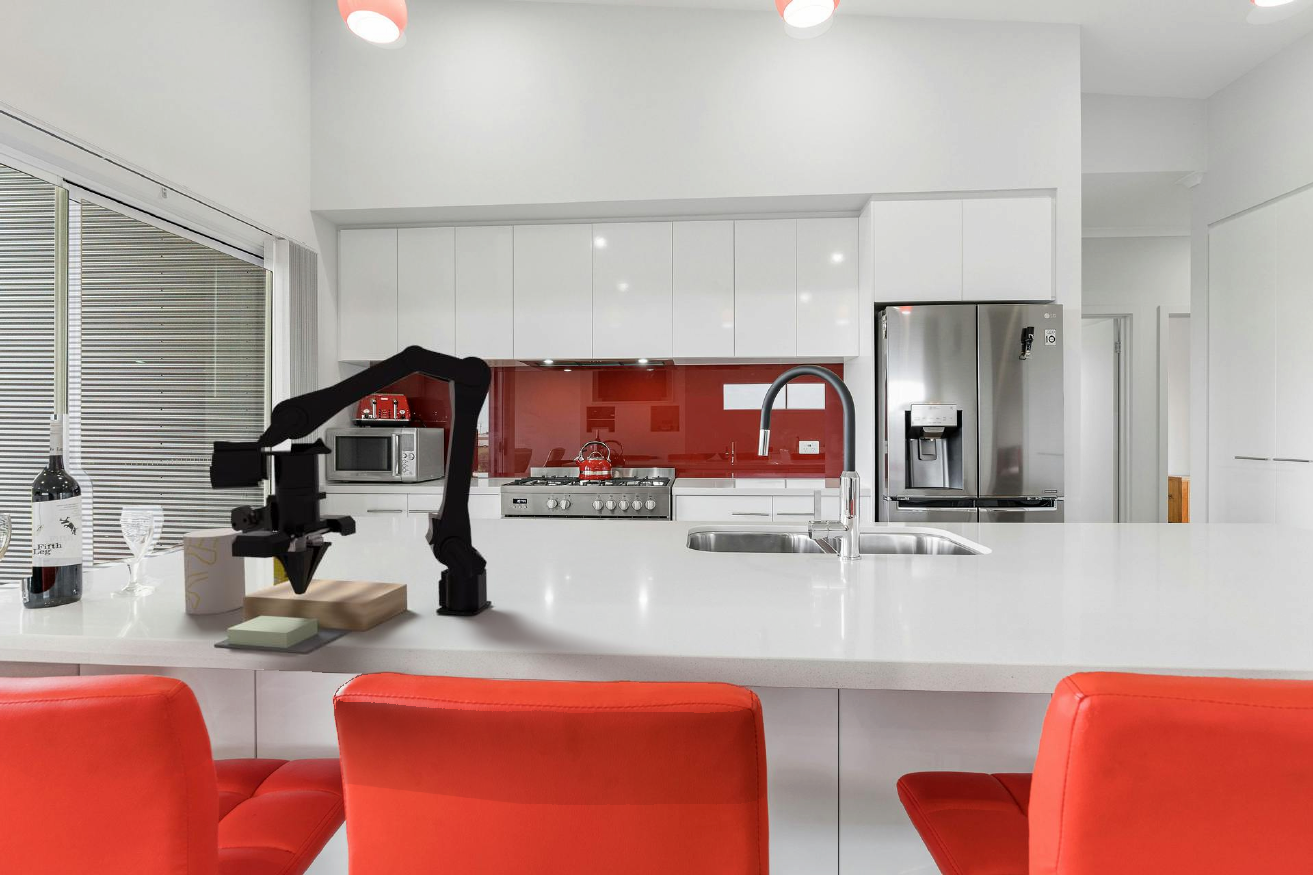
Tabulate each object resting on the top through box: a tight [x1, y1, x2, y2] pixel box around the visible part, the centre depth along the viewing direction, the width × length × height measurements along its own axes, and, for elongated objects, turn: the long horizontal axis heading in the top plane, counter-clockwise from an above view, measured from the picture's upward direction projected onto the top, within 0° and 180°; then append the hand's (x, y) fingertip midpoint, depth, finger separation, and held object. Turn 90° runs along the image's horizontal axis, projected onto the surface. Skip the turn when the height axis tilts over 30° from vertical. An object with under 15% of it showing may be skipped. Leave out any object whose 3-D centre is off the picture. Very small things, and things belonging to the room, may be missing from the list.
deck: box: [242, 578, 408, 632], centre depth 106 cm, size 20×11×4 cm, turn 79°
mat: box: [213, 627, 351, 654], centre depth 96 cm, size 14×9×1 cm, turn 79°
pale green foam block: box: [226, 616, 318, 648], centre depth 95 cm, size 9×6×2 cm, turn 79°
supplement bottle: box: [272, 536, 292, 586], centre depth 122 cm, size 5×5×10 cm
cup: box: [182, 527, 246, 615], centre depth 111 cm, size 8×8×12 cm
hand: (300, 593), depth 100 cm, fingers closed
